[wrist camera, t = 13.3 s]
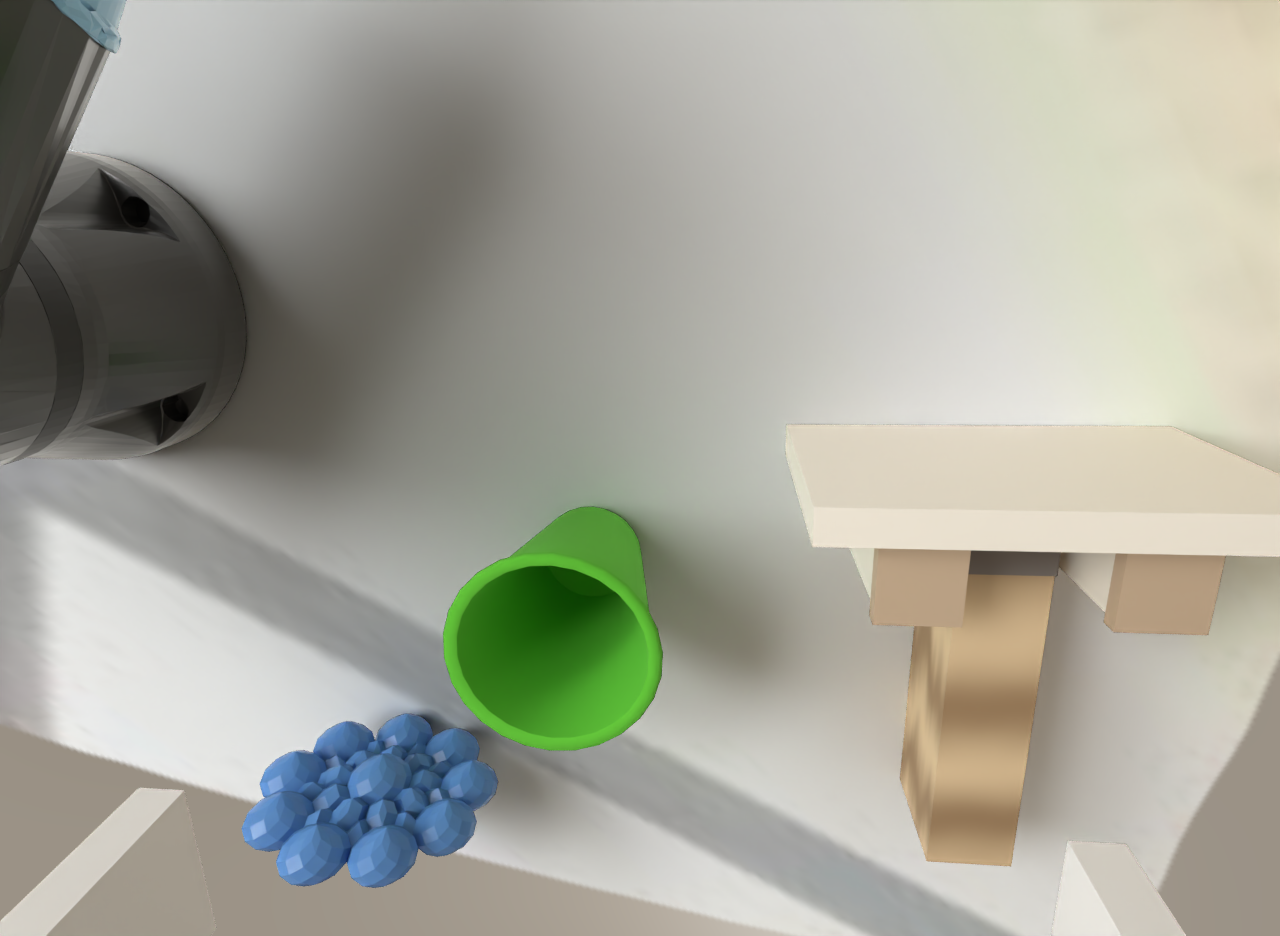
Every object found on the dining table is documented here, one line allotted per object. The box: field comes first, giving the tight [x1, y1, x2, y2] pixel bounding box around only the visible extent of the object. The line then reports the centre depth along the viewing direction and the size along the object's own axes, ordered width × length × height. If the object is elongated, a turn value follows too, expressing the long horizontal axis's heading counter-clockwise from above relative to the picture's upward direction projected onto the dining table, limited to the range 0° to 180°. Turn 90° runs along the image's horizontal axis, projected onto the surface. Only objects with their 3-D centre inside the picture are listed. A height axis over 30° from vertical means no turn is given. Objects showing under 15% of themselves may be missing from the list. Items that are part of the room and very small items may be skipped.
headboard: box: [785, 424, 1280, 635], centre depth 33 cm, size 18×6×12 cm, turn 91°
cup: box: [443, 507, 663, 750], centre depth 36 cm, size 9×9×11 cm
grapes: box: [242, 714, 498, 888], centre depth 40 cm, size 12×7×12 cm, turn 78°
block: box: [900, 550, 1061, 866], centre depth 38 cm, size 18×4×6 cm, turn 1°
